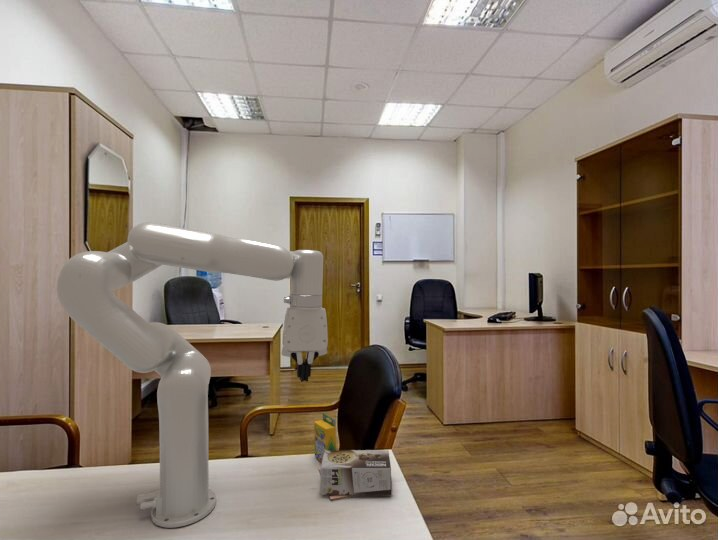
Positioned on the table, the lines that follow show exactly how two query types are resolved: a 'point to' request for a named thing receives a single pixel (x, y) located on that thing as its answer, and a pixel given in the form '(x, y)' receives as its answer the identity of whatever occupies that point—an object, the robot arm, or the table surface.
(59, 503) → the table surface
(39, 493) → the table surface
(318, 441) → the crayon box
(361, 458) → the coffee box
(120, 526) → the table surface
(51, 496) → the table surface
